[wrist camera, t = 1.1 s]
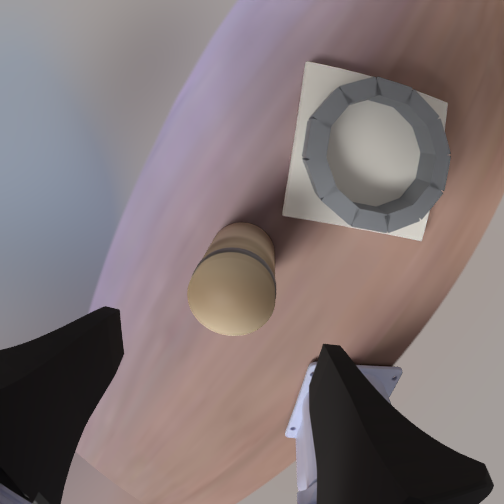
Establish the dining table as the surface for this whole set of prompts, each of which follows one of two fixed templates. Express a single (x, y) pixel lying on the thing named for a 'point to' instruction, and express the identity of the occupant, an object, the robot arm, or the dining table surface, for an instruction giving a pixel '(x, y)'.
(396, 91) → the collar stand
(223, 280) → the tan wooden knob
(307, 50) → the dining table surface
